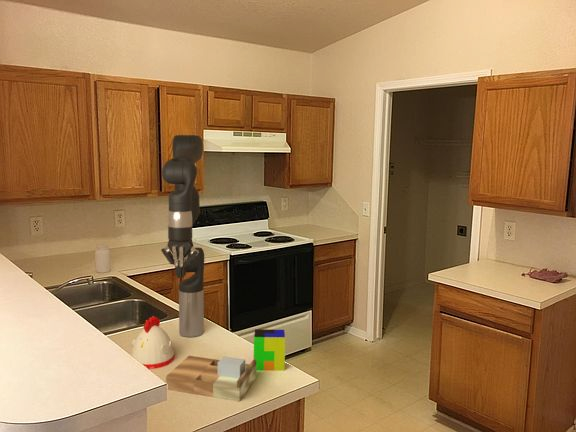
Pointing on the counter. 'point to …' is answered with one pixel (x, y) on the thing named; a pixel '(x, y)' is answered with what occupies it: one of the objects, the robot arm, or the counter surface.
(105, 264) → the pill bottle
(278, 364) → the puzzle toy
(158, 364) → the kitchen timer
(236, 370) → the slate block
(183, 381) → the board
